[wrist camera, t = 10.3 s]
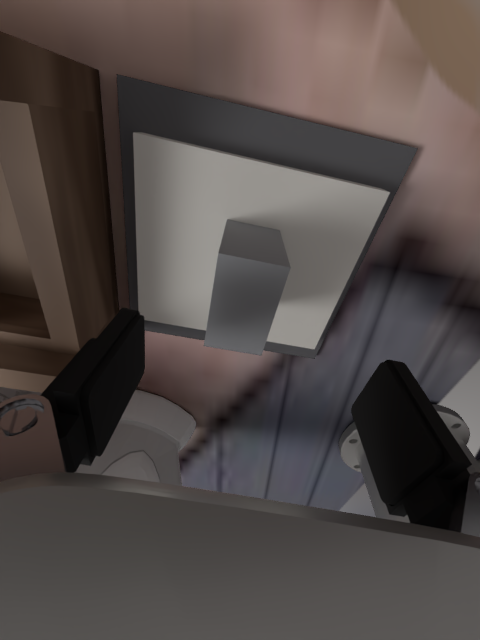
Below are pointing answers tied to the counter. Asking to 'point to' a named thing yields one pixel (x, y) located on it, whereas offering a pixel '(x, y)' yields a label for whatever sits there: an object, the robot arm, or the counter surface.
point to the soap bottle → (146, 441)
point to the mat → (254, 142)
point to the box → (51, 214)
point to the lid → (244, 243)
